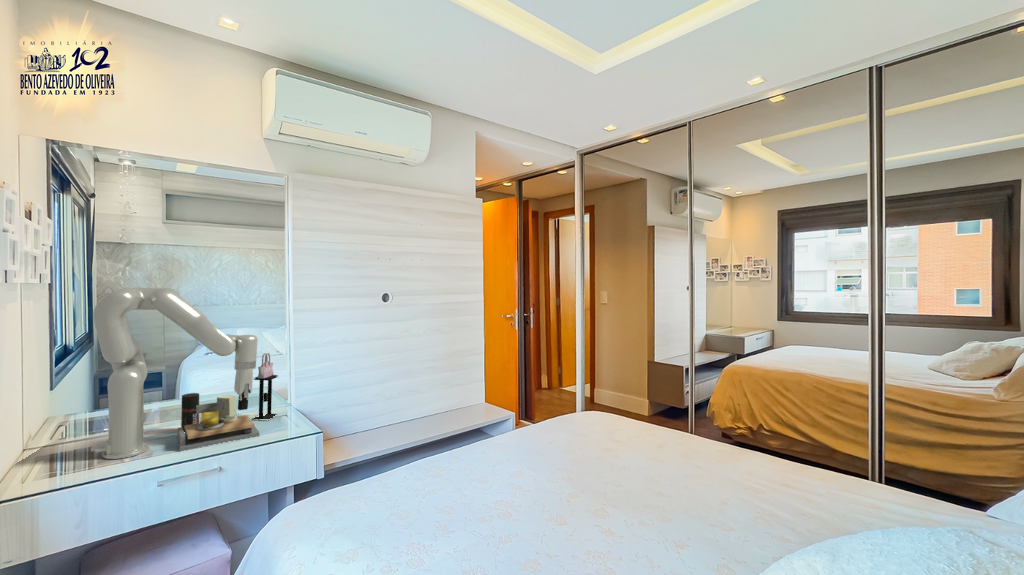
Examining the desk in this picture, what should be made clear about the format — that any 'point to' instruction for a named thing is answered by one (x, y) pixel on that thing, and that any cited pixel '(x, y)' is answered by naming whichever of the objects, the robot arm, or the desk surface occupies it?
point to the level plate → (225, 428)
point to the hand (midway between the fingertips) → (242, 409)
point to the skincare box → (227, 405)
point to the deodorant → (189, 409)
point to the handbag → (268, 375)
